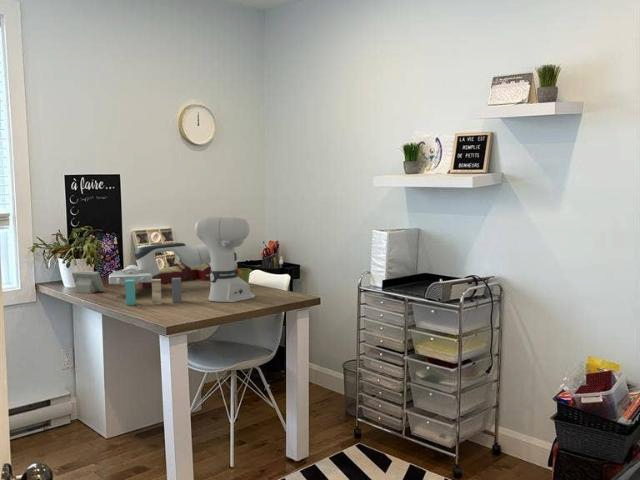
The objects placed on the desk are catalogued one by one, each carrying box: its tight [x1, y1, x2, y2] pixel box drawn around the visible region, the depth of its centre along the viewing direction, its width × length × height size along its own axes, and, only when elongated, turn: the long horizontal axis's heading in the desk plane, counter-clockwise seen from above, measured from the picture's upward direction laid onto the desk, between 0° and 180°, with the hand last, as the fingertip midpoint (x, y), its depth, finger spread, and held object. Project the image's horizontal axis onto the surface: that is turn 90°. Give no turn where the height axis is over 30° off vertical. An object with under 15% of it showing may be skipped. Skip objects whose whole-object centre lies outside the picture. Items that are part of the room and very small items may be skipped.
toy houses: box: [137, 262, 211, 289], centre depth 341 cm, size 45×20×10 cm, turn 129°
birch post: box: [151, 279, 162, 306], centre depth 283 cm, size 4×4×11 cm
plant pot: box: [235, 267, 252, 284], centre depth 328 cm, size 9×9×9 cm
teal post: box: [124, 280, 136, 306], centre depth 282 cm, size 4×4×11 cm
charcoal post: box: [171, 278, 183, 304], centre depth 287 cm, size 4×4×11 cm
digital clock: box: [71, 270, 105, 294], centre depth 313 cm, size 16×9×11 cm, turn 62°
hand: (130, 281), depth 293 cm, fingers open, 8 cm apart
